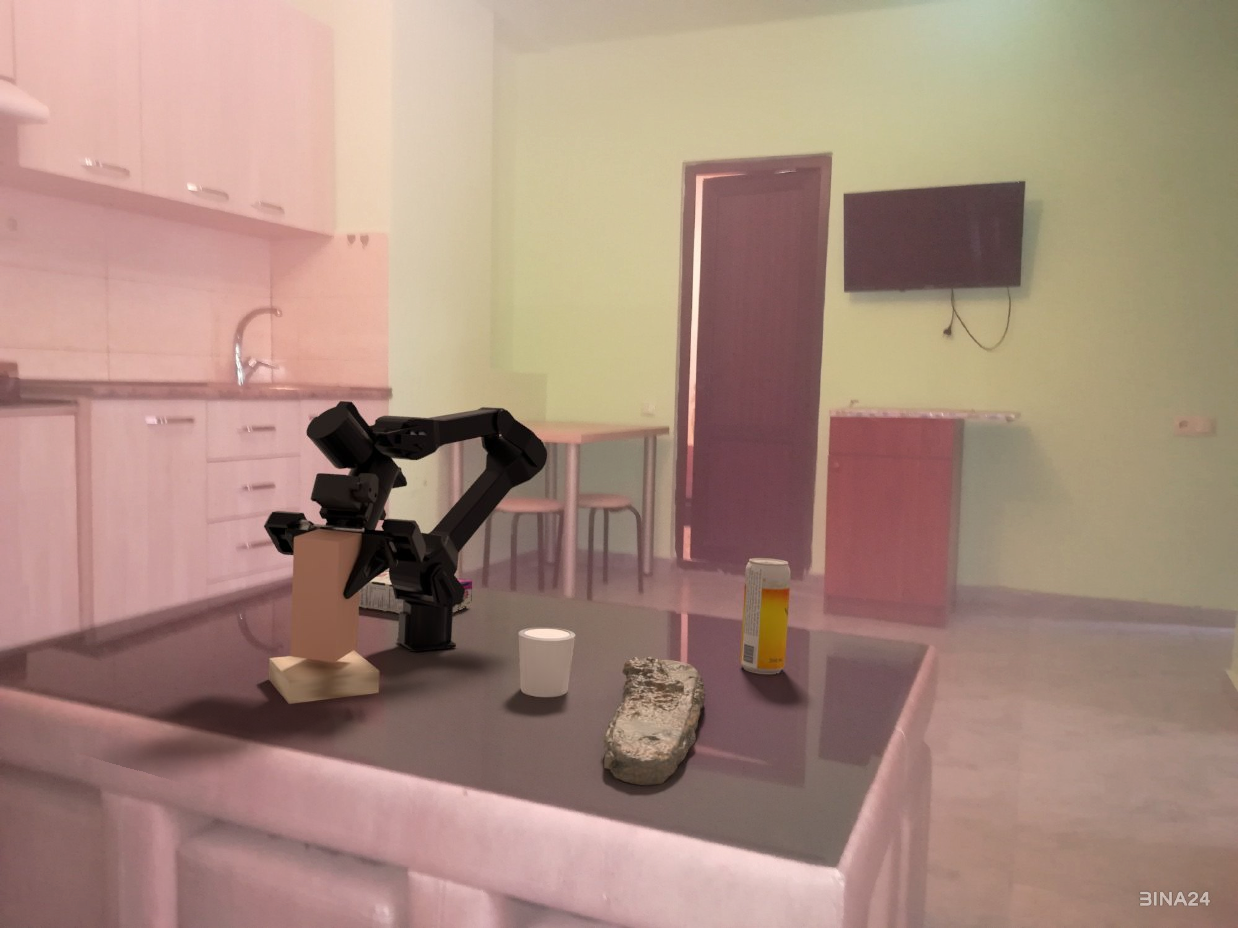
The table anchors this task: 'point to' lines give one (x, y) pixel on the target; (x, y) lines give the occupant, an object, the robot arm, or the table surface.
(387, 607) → the candy bar box
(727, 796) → the table surface
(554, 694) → the white cup
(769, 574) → the beer can
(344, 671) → the birch block
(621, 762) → the elongated rock
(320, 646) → the terracotta post
